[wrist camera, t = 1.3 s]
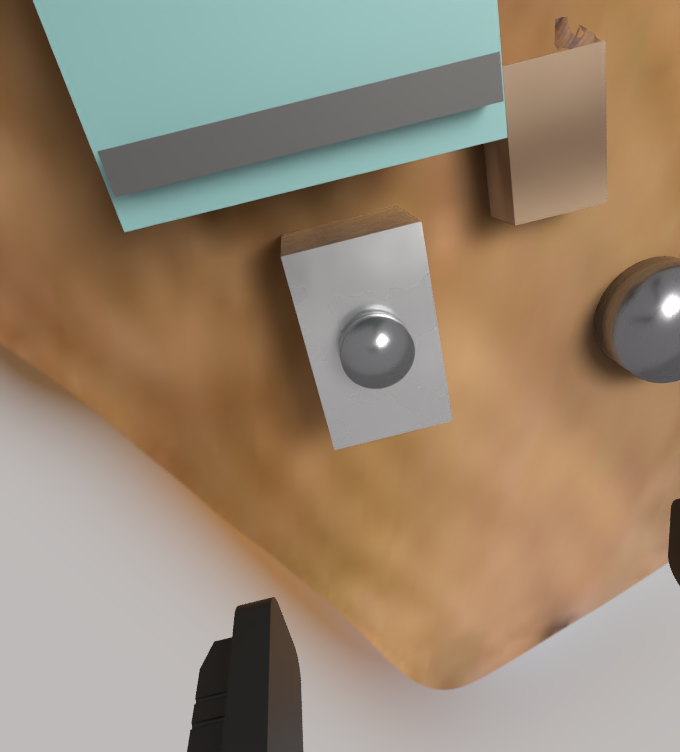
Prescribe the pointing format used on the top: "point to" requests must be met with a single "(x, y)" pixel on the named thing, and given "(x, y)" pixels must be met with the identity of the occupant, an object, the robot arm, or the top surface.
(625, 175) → the top surface
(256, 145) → the stand
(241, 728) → the robot arm
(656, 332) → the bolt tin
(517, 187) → the wood offcut
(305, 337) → the block
